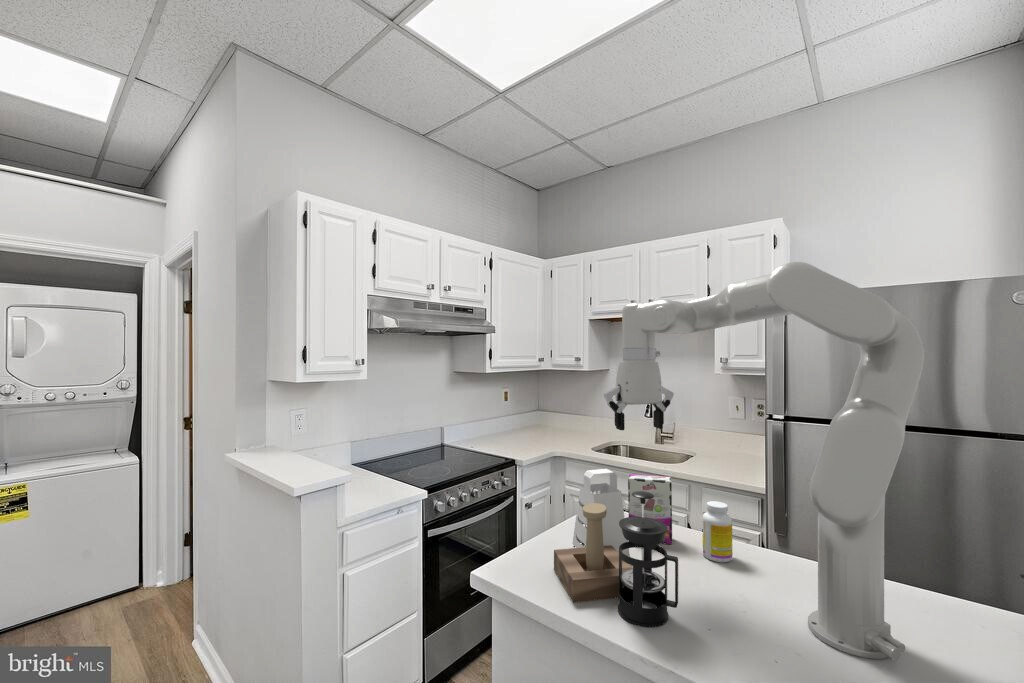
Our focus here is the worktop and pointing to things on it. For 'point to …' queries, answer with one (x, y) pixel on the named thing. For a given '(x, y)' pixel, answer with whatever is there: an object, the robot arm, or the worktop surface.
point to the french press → (644, 571)
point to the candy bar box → (652, 500)
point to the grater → (613, 510)
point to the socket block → (588, 574)
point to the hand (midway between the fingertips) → (639, 428)
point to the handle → (594, 535)
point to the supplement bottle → (717, 532)
